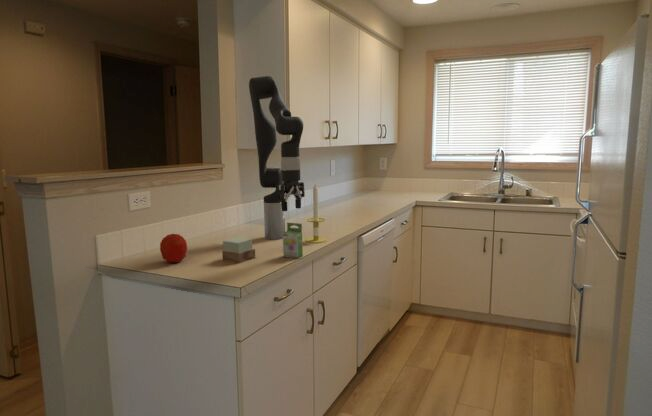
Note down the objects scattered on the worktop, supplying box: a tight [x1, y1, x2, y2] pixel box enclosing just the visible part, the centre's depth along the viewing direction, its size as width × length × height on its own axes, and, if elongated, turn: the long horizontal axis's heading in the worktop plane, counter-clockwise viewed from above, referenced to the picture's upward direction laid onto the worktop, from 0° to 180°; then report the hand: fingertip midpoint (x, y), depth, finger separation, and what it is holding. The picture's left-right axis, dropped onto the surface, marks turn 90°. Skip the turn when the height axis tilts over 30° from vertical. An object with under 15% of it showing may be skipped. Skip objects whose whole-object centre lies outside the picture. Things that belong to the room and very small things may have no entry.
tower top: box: [222, 236, 253, 253], centre depth 182 cm, size 8×8×4 cm
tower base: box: [221, 248, 256, 264], centre depth 182 cm, size 9×9×4 cm
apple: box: [159, 233, 188, 264], centre depth 179 cm, size 10×10×12 cm
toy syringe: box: [305, 183, 328, 244], centre depth 212 cm, size 10×10×27 cm
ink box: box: [282, 222, 304, 259], centre depth 184 cm, size 7×4×13 cm, turn 63°
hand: (291, 209), depth 182 cm, fingers open, 8 cm apart
